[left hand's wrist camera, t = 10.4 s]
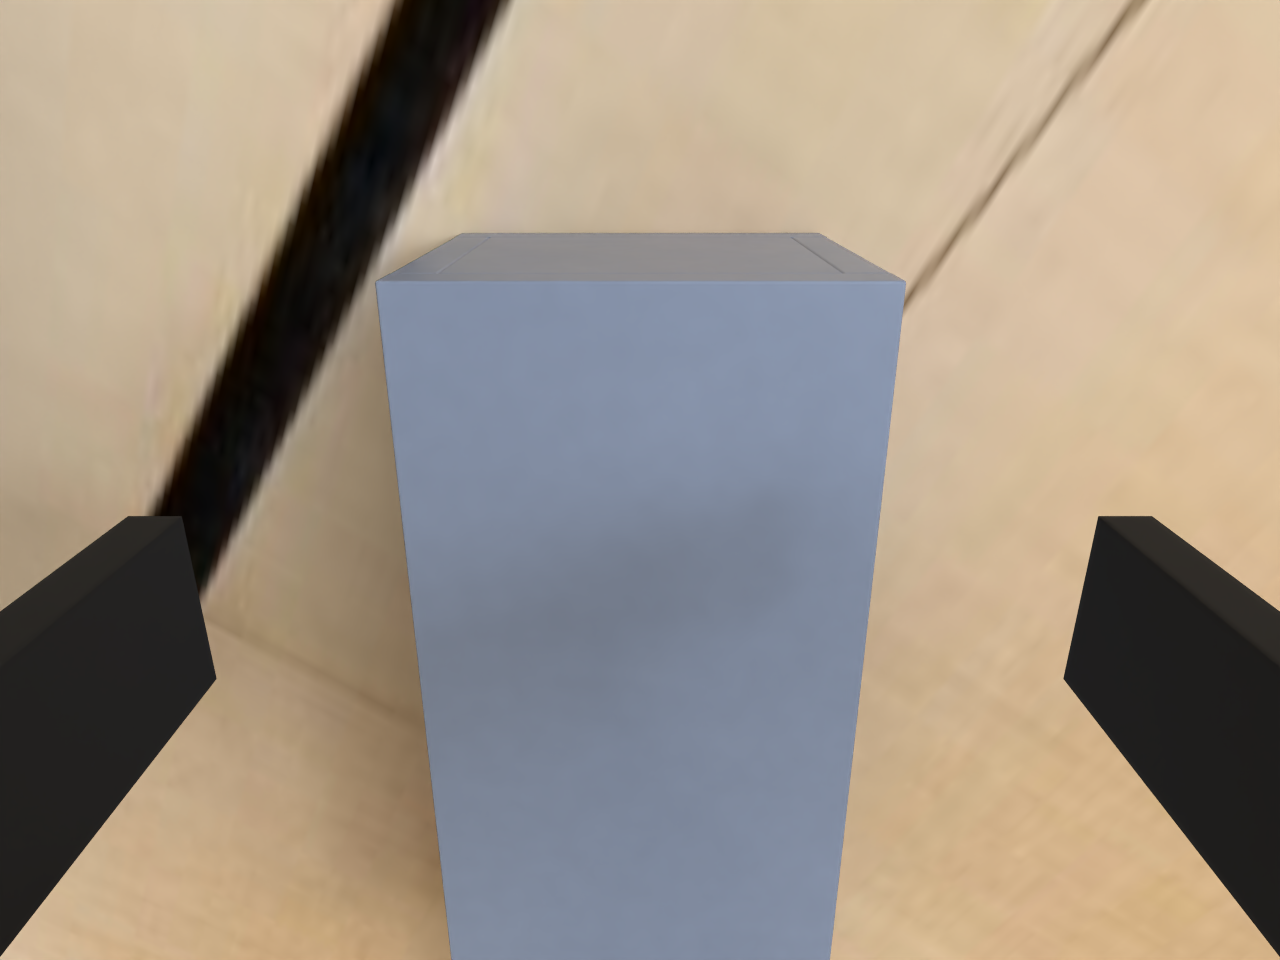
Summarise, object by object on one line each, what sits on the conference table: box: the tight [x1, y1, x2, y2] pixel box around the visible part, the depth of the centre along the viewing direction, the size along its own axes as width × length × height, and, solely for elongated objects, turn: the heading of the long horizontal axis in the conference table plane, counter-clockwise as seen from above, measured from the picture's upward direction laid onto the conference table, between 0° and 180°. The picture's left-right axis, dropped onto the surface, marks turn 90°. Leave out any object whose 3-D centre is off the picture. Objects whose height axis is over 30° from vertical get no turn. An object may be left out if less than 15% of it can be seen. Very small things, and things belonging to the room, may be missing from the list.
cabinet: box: [375, 233, 906, 960], centre depth 24 cm, size 22×10×8 cm, turn 0°
